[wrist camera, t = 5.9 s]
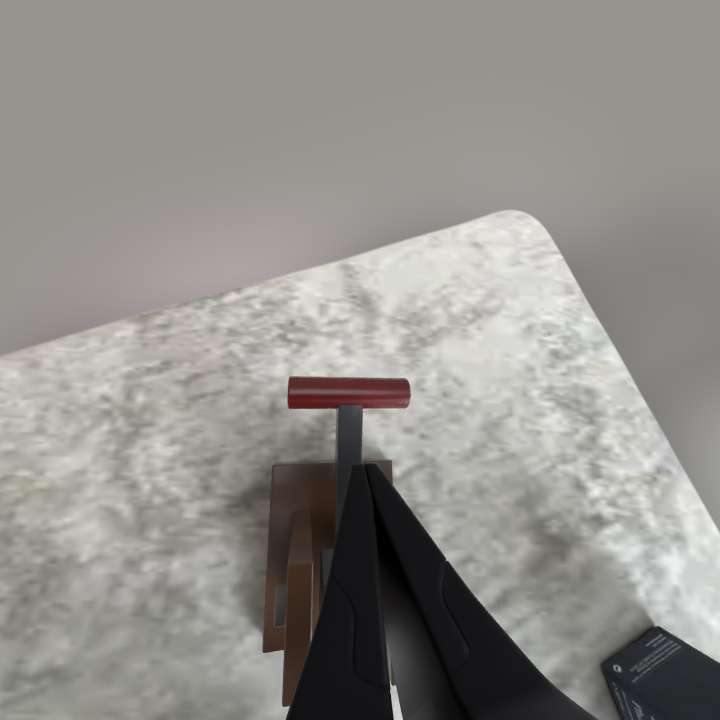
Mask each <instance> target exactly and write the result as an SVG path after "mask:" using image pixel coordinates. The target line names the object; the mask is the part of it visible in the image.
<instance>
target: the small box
mask: <svg viewBox="0 0 720 720" xmlns="http://www.w3.org/2000/svg"><path fill="white" fill-rule="evenodd" d="M602 667H603V671H604V673H605V676H606V678H607V681H608V684H609V686H610V689H611V691H612V694H613V696H614V699H615V702H616V704H617V707H618V709H619V712H620V714H621V717H622V720H720V663H719V662H717V661H715V660H713V659H712V658H710V657H708V656H707V655H705V654H703V653H702V652H700V651H699V650H697V649H695V648H693V647H692V646H690V645H689V644H687V643H685V642H684V641H682V640H681V639H679V638H677V637H676V636H674V635H672V634H671V633H669V632H668V631H666V630H664V629H663V628H661V627H659V626H657V627H655V628H654V629H653V630H651V631H650V632H649V633H647V634H646V635H645V636H643V637H642V638H640V639H639V640H638V641H636V642H635V643H633V644H632V645H630V646H629V647H627V648H626V649H624V650H623V651H621V652H619V653H618V654H617V655H615V656H614V657H612V658H611V659H610V660H609V661H607V662H606V663H605V664H604V665H603V666H602Z"/></svg>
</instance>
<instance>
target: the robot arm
mask: <svg viewBox="0 0 720 720" xmlns="http://www.w3.org/2000/svg"><path fill="white" fill-rule="evenodd" d="M385 633H386V636H385ZM386 638H387V643H388V648H389V653H390V658H391V663H392V668H393V672H394V677H395V682H396V687H397V692H398V697H399V702H400V707H401V712H402V717H403V720H598V719H597V718H595V717H594V716H593V715H591V714H590V713H589V712H587V711H586V710H585V709H583V708H582V707H580V706H579V705H578V704H576V703H575V702H574V701H572V700H571V699H570V698H568V697H567V696H566V695H565V694H564V693H562V692H561V691H560V690H559V689H558V688H556V687H555V686H554V685H553V684H552V683H551V682H550V681H549V680H548V679H547V678H546V677H545V676H544V675H543V674H542V673H541V672H540V671H539V670H538V669H537V668H536V667H535V665H534V664H533V663H532V662H531V661H530V660H529V659H528V658H527V656H526V655H525V654H524V653H523V652H522V651H521V649H520V648H519V647H518V646H517V645H516V644H515V643H514V641H513V640H512V639H511V638H510V637H509V636H508V634H507V633H506V632H505V631H504V630H503V629H502V628H501V626H500V625H499V624H498V623H497V622H496V621H495V619H494V618H493V617H492V616H491V615H490V614H489V613H488V611H487V610H486V609H485V608H484V607H483V605H482V604H481V603H480V602H479V601H478V599H477V598H476V597H475V596H474V595H473V593H472V592H471V591H470V590H469V588H468V587H467V586H466V584H465V583H464V582H463V580H462V579H461V578H460V576H459V575H458V574H457V572H456V571H455V570H454V568H453V567H452V566H451V564H450V563H449V561H446V557H445V556H444V555H443V553H442V552H441V551H440V549H439V548H438V547H437V545H436V544H435V542H434V541H433V540H432V538H431V537H430V536H429V534H428V533H427V531H426V530H425V529H424V527H423V526H422V525H421V523H420V522H419V521H418V519H417V518H416V516H415V515H414V514H413V512H412V511H411V510H410V508H409V507H408V505H407V504H406V503H405V501H404V500H403V499H402V497H401V496H400V494H399V493H398V492H397V490H396V489H395V488H394V486H393V485H392V484H391V482H390V481H389V479H388V478H387V477H386V475H385V474H384V473H383V471H382V470H381V468H380V467H379V466H378V464H377V463H365V464H363V463H353V464H352V465H351V469H350V474H349V479H348V484H347V488H346V493H345V498H344V503H343V507H342V512H341V517H340V522H339V526H338V531H337V536H336V541H335V545H334V550H333V555H332V559H331V564H330V569H329V575H328V578H327V583H326V587H325V592H324V596H323V600H322V604H321V609H320V613H319V617H318V620H317V623H316V627H315V630H314V633H313V637H312V640H311V643H310V646H309V650H308V653H307V656H306V659H305V662H304V665H303V668H302V671H301V674H300V677H299V680H298V683H297V687H296V690H295V693H294V696H293V699H292V702H291V705H290V708H289V711H288V714H287V717H286V720H394V719H393V710H392V701H391V694H390V679H389V668H388V657H387V647H386Z"/></svg>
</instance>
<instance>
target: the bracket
mask: <svg viewBox="0 0 720 720" xmlns="http://www.w3.org/2000/svg"><path fill="white" fill-rule="evenodd" d="M362 463H363V464H365V463H377V464H378V466H379V467H380V468H381V470H382V471H383V473H384V474H385V475H386V477H387V478H388V479H389V481H390V482H391V484H392V485H393V479H392V461H391V460H389V459H362ZM334 497H335V461H308V462H282V463H274V464H273V466H272V483H271V501H270V520H269V538H268V557H267V575H266V594H265V612H264V631H263V649H262V651H263V653H267V652H273V651H279V650H284V668H283V693H282V705H283V707H286V706H290V705H291V702H292V699H293V696H294V693H295V690H296V687H297V683H298V680H299V677H300V674H301V671H302V668H303V665H304V662H305V659H306V656H307V653H308V650H309V646H310V643H311V640H312V637H313V633H314V630H315V627H316V623H317V620H318V617H319V584H320V551H321V550H325V549H333V542H334ZM385 636H386V633H385ZM386 647H387V657H388V668H389V678H390V681H391V684H392V685H393V686H394V685H396V682H395V677H394V672H393V668H392V663H391V658H390V653H389V648H388V643H387V638H386Z"/></svg>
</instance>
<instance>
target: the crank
mask: <svg viewBox="0 0 720 720" xmlns="http://www.w3.org/2000/svg"><path fill="white" fill-rule="evenodd" d="M410 396H411V392H410V385H409V382H408V380H407V379H405V378H355V377H298V376H291V377H289V382H288V408H289V409H336V452H335V497H334V542H333V549H325V550H321V551H320V584H319V613H320V609H321V604H322V600H323V596H324V592H325V587H326V583H327V578H328V575H329V569H330V564H331V559H332V555H333V550H334V545H335V541H336V536H337V531H338V526H339V522H340V517H341V512H342V507H343V503H344V498H345V493H346V488H347V484H348V479H349V474H350V469H351V465H352V464H353V463H362V418H363V408H407V407H408V405H409V403H410Z"/></svg>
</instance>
